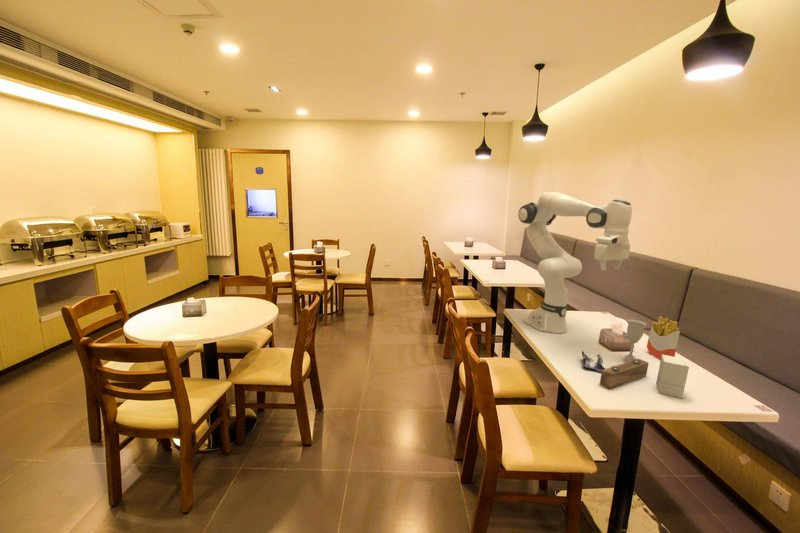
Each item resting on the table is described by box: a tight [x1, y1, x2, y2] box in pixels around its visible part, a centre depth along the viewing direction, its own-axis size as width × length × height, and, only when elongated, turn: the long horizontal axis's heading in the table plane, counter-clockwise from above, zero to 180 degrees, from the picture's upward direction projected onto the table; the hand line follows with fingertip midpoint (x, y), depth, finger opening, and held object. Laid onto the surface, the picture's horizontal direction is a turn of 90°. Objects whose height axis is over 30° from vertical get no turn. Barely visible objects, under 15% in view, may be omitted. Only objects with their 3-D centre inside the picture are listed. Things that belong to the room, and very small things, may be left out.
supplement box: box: [655, 354, 690, 399], centre depth 131 cm, size 7×7×13 cm
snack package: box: [581, 350, 606, 374], centre depth 149 cm, size 12×6×12 cm
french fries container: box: [646, 316, 681, 361], centre depth 160 cm, size 5×11×18 cm, turn 5°
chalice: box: [622, 319, 647, 363], centre depth 154 cm, size 7×7×18 cm
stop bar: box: [599, 358, 650, 390], centre depth 138 cm, size 4×24×7 cm, turn 118°
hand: (609, 269), depth 155 cm, fingers open, 8 cm apart
